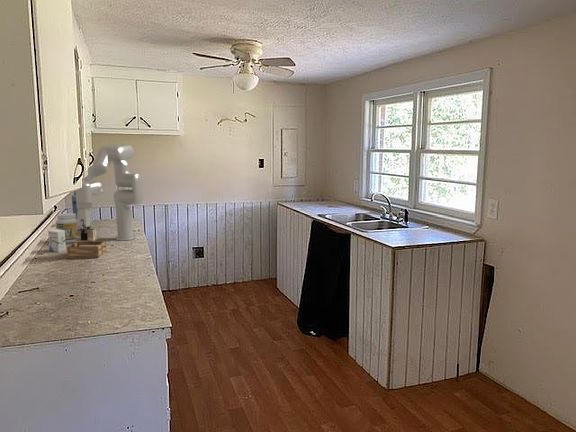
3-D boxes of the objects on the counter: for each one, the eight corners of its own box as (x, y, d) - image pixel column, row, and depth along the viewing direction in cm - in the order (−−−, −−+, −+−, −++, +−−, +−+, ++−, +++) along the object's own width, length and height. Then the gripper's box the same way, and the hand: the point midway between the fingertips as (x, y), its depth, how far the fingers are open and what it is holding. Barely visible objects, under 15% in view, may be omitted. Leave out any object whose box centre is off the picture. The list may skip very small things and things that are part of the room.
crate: (77, 252, 248) (76, 241, 247) (106, 251, 249) (105, 241, 249) (67, 258, 233) (67, 247, 233) (98, 258, 235) (97, 246, 234)
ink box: (48, 250, 251) (47, 230, 249) (56, 248, 255) (55, 228, 253) (58, 252, 247) (57, 231, 245) (66, 250, 251) (65, 230, 249)
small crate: (79, 239, 242) (79, 228, 242) (96, 239, 243) (96, 228, 243) (75, 241, 237) (75, 230, 236) (93, 241, 238) (92, 230, 237)
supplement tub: (55, 243, 268) (53, 216, 265) (59, 239, 279) (57, 213, 276) (77, 242, 271) (75, 215, 268) (80, 238, 283) (78, 212, 280)
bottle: (91, 225, 330) (88, 185, 325) (81, 227, 321) (78, 186, 316) (81, 224, 333) (78, 184, 328) (70, 226, 324) (68, 185, 319)
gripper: (82, 204, 245) (84, 236, 248) (71, 208, 228) (73, 242, 231) (96, 203, 246) (98, 235, 249) (86, 207, 229) (88, 242, 232)
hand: (86, 238), depth 240 cm, fingers closed on small crate, 6 cm apart
